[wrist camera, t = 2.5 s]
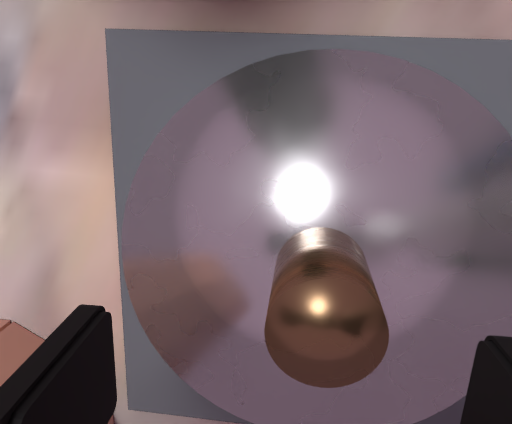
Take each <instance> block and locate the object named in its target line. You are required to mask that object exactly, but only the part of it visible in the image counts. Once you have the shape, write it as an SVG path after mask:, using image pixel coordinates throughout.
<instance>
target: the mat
mask: <svg viewBox="0 0 512 424" xmlns="http://www.w3.org/2000/svg"><path fill="white" fill-rule="evenodd" d="M105 35H106V52H107V68H108V85H109V101H110V117H111V134H112V150H113V167H114V183H115V200H116V216H117V233H118V249H119V266H120V282H121V298H122V315H123V331H124V348H125V364H126V381H127V397H128V410H137V411H145V412H153V413H161V414H169V415H177V416H185V417H193V418H201V419H209V420H217V421H225V422H234V423H242V424H254V423H251V422H249V421H246V420H244V419H241V418H239V417H237V416H235V415H233V414H231V413H229V412H227V411H225V410H224V409H222V408H220V407H218V406H216V405H215V404H213V403H212V402H210V401H209V400H207V399H206V398H204V397H203V396H202V395H200V394H199V393H197V392H196V391H195V390H194V389H193V388H191V387H190V386H189V385H188V384H187V383H186V382H184V381H183V380H182V379H181V378H180V377H179V376H178V375H177V374H176V373H175V372H174V371H173V370H172V369H171V367H170V366H169V365H168V364H167V363H166V362H165V361H164V360H163V358H162V357H161V356H160V354H159V353H158V351H157V350H156V349H155V347H154V346H153V345H152V343H151V342H150V340H149V338H148V336H147V335H146V333H145V331H144V329H143V328H142V326H141V324H140V322H139V320H138V317H137V315H136V312H135V310H134V308H133V305H132V303H131V300H130V296H129V293H128V289H127V285H126V281H125V277H124V269H123V261H122V225H123V218H124V211H125V205H126V201H127V198H128V194H129V191H130V187H131V184H132V181H133V179H134V176H135V174H136V172H137V170H138V167H139V165H140V163H141V161H142V159H143V157H144V155H145V153H146V152H147V150H148V149H149V147H150V146H151V144H152V142H153V141H154V139H155V138H156V136H157V135H158V133H159V132H160V131H161V130H162V129H163V127H164V126H165V125H166V124H167V123H168V122H169V120H170V119H171V118H172V117H173V116H174V114H175V113H176V112H178V111H179V110H180V109H181V108H182V107H183V106H184V105H185V104H187V103H188V102H189V101H190V100H191V99H192V98H193V97H194V96H196V95H197V94H198V93H200V92H201V91H203V90H204V89H206V88H207V87H209V86H210V85H212V84H213V83H215V82H216V81H218V80H219V79H221V78H223V77H225V76H227V75H229V74H231V73H233V72H235V71H237V70H239V69H241V68H243V67H245V66H247V65H250V64H253V63H256V62H259V61H262V60H265V59H268V58H272V57H275V56H278V55H284V54H289V53H295V52H300V51H306V50H322V49H348V50H358V51H368V52H374V53H379V54H383V55H387V56H391V57H395V58H399V59H403V60H406V61H408V62H411V63H413V64H416V65H418V66H421V67H423V68H426V69H428V70H431V71H433V72H435V73H437V74H438V75H440V76H442V77H444V78H445V79H447V80H449V81H451V82H452V83H454V84H456V85H457V86H459V87H461V88H462V89H463V90H465V91H466V92H467V93H468V94H470V95H471V96H472V97H473V98H475V99H476V100H477V101H478V102H480V103H481V104H482V105H483V106H485V107H486V109H487V110H488V111H489V112H490V113H491V114H492V115H493V116H494V117H495V118H496V119H497V120H498V121H499V123H500V124H501V125H502V126H503V127H504V128H505V129H506V131H507V132H508V134H509V135H510V137H511V138H512V40H493V39H458V38H422V37H386V36H350V35H314V34H279V33H243V32H207V31H171V30H135V29H105ZM465 399H466V396H464V397H463V398H461V399H460V400H458V401H457V402H455V403H454V404H452V405H451V406H449V407H448V408H446V409H444V410H442V411H440V412H438V413H436V414H434V415H432V416H430V417H428V418H426V419H424V420H421V421H419V422H416V423H413V424H460V422H461V417H462V412H463V408H464V403H465Z"/></svg>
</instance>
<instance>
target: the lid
mask: <svg viewBox="0 0 512 424" xmlns="http://www.w3.org/2000/svg"><path fill="white" fill-rule="evenodd" d="M122 261H123V269H124V277H125V281H126V285H127V289H128V293H129V296H130V300H131V303H132V305H133V308H134V310H135V312H136V315H137V317H138V320H139V322H140V324H141V326H142V328H143V329H144V331H145V333H146V335H147V336H148V338H149V340H150V342H151V343H152V345H153V346H154V347H155V349H156V350H157V351H158V353H159V354H160V356H161V357H162V358H163V360H164V361H165V362H166V363H167V364H168V365H169V366H170V367H171V369H172V370H173V371H174V372H175V373H176V374H177V375H178V376H179V377H180V378H181V379H182V380H183V381H184V382H186V383H187V384H188V385H189V386H190V387H191V388H193V389H194V390H195V391H196V392H197V393H199V394H200V395H202V396H203V397H204V398H206V399H207V400H209V401H210V402H212V403H213V404H215V405H216V406H218V407H220V408H222V409H224V410H225V411H227V412H229V413H231V414H233V415H235V416H237V417H239V418H241V419H244V420H246V421H249V422H251V423H254V424H413V423H416V422H419V421H421V420H424V419H426V418H428V417H430V416H432V415H434V414H436V413H438V412H440V411H442V410H444V409H446V408H448V407H449V406H451V405H452V404H454V403H455V402H457V401H458V400H460V399H461V398H463V397H464V396H466V394H467V390H468V385H469V380H470V376H471V371H472V367H473V362H474V357H475V353H476V348H477V345H478V343H479V341H484V340H485V338H486V337H487V336H489V335H493V336H506V337H512V138H511V137H510V135H509V134H508V132H507V131H506V129H505V128H504V127H503V126H502V125H501V124H500V123H499V121H498V120H497V119H496V118H495V117H494V116H493V115H492V114H491V113H490V112H489V111H488V110H487V109H486V107H485V106H483V105H482V104H481V103H480V102H478V101H477V100H476V99H475V98H473V97H472V96H471V95H470V94H468V93H467V92H466V91H465V90H463V89H462V88H461V87H459V86H457V85H456V84H454V83H452V82H451V81H449V80H447V79H445V78H444V77H442V76H440V75H438V74H437V73H435V72H433V71H431V70H428V69H426V68H423V67H421V66H418V65H416V64H413V63H411V62H408V61H406V60H403V59H399V58H395V57H391V56H387V55H383V54H379V53H374V52H368V51H358V50H348V49H322V50H306V51H300V52H295V53H289V54H284V55H278V56H275V57H272V58H268V59H265V60H262V61H259V62H256V63H253V64H250V65H247V66H245V67H243V68H241V69H239V70H237V71H235V72H233V73H231V74H229V75H227V76H225V77H223V78H221V79H219V80H218V81H216V82H215V83H213V84H212V85H210V86H209V87H207V88H206V89H204V90H203V91H201V92H200V93H198V94H197V95H196V96H194V97H193V98H192V99H191V100H190V101H189V102H188V103H187V104H185V105H184V106H183V107H182V108H181V109H180V110H179V111H178V112H176V113H175V114H174V116H173V117H172V118H171V119H170V120H169V122H168V123H167V124H166V125H165V126H164V127H163V129H162V130H161V131H160V132H159V133H158V135H157V136H156V138H155V139H154V141H153V142H152V144H151V146H150V147H149V149H148V150H147V152H146V153H145V155H144V157H143V159H142V161H141V163H140V165H139V167H138V170H137V172H136V174H135V176H134V179H133V181H132V184H131V187H130V191H129V194H128V198H127V201H126V205H125V211H124V218H123V225H122Z"/></svg>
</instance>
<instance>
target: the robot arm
mask: <svg viewBox="0 0 512 424" xmlns="http://www.w3.org/2000/svg"><path fill="white" fill-rule="evenodd" d="M116 402H117V391H116V376H115V361H114V346H113V331H112V317H111V314H110V313H109V312H105V308H104V307H103V306H95V305H79V306H78V307H77V308H76V309H75V310H74V311H73V312H72V313H71V314H70V315H69V316H68V317H67V318H66V319H65V320H64V321H63V322H62V323H61V324H60V326H59V327H58V328H57V329H56V330H55V331H54V332H53V333H52V334H51V335H50V336H49V337H48V338H47V339H46V340H45V341H44V342H43V343H42V344H41V345H40V346H39V347H38V348H37V349H36V350H35V351H34V352H33V353H32V354H31V355H30V356H29V357H28V359H27V360H26V361H25V362H24V363H23V364H22V365H21V366H20V367H19V368H18V369H17V370H16V371H15V372H14V373H13V374H12V375H11V376H10V377H9V378H8V379H7V380H6V381H5V382H4V383H3V384H2V385H1V386H0V424H108V422H109V420H110V418H111V417H112V415H113V413H114V410H115V407H116ZM460 424H512V337H506V336H493V335H489V336H487V337H486V338H485V340H484V341H479V343H478V345H477V348H476V353H475V357H474V362H473V367H472V371H471V376H470V380H469V385H468V390H467V394H466V399H465V403H464V408H463V412H462V417H461V422H460Z"/></svg>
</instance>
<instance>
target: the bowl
mask: <svg viewBox="0 0 512 424" xmlns="http://www.w3.org/2000/svg"><path fill="white" fill-rule="evenodd" d="M44 341H45V340H43V339H42V338H40V337H38V336H37V335H35V334H33V333H32V332H30V331H28V330H27V329H25V328H23V327H22V326H20V325H18V324H17V323H15V322H12V323H10V320H1V319H0V386H1V385H2V384H3V383H4V382H5V381H6V380H7V379H8V378H9V377H10V376H11V375H12V374H13V373H14V372H15V371H16V370H17V369H18V368H19V367H20V366H21V365H22V364H23V363H24V362H25V361H26V360H27V359H28V357H29V356H30V355H31V354H32V353H33V352H34V351H35V350H36V349H37V348H38V347H39V346H40V345H41V344H42V343H43V342H44ZM108 424H114V420H113V415H112V417H111V418H110V420H109V422H108Z"/></svg>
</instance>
